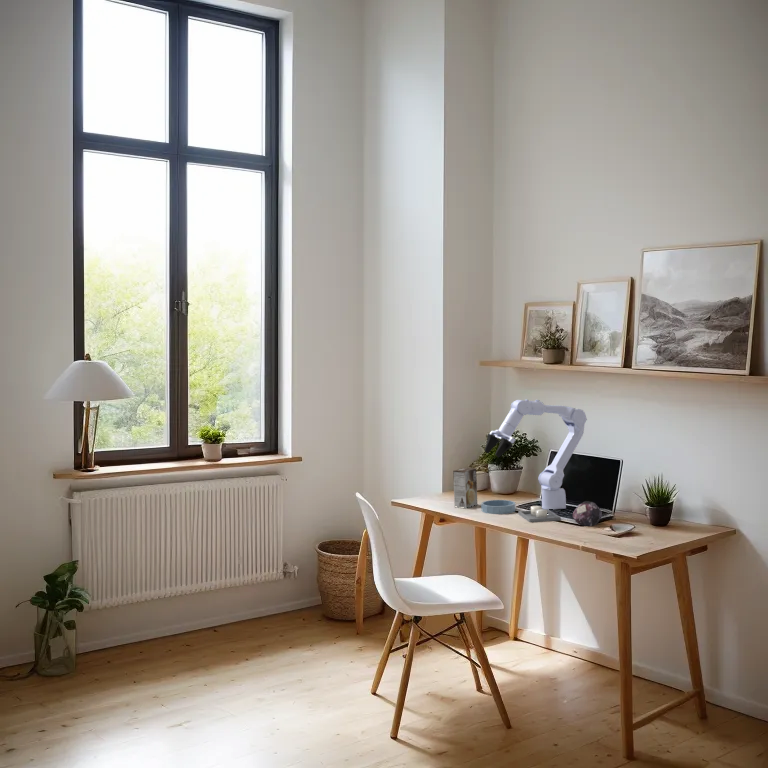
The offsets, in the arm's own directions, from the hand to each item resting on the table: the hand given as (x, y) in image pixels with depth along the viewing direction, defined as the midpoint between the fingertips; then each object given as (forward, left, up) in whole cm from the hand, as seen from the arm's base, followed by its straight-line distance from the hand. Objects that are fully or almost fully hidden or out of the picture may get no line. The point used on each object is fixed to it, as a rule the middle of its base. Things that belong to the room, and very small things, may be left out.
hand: (491, 454), depth 350 cm
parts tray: (-16, +10, -26) cm, 32 cm away
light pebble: (-16, +7, -25) cm, 30 cm away
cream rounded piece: (-16, +14, -25) cm, 32 cm away
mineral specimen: (-30, +26, -26) cm, 47 cm away
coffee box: (+6, -24, -26) cm, 36 cm away
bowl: (-4, -7, -26) cm, 27 cm away
